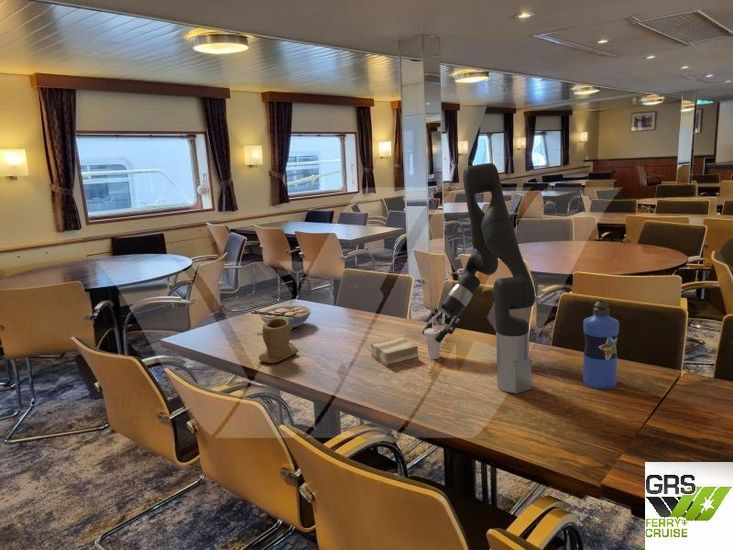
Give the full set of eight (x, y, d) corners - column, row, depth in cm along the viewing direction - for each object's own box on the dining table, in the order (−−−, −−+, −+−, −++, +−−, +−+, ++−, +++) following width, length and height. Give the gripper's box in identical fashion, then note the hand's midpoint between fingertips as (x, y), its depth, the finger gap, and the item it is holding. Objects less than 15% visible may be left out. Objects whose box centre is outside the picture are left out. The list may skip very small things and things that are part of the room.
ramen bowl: (325, 322, 237) (324, 304, 235) (292, 339, 218) (290, 319, 217) (282, 317, 250) (280, 300, 249) (247, 332, 232) (245, 314, 230)
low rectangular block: (418, 359, 186) (417, 346, 185) (387, 367, 181) (386, 353, 180) (401, 349, 197) (400, 336, 196) (371, 357, 192) (370, 343, 191)
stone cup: (276, 368, 188) (271, 327, 185) (254, 362, 196) (249, 322, 193) (307, 354, 200) (303, 315, 196) (285, 349, 207) (281, 311, 204)
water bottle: (575, 380, 161) (576, 300, 156) (600, 374, 164) (602, 295, 159) (599, 392, 152) (600, 307, 147) (624, 385, 156) (627, 302, 150)
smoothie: (443, 353, 191) (441, 315, 188) (444, 360, 184) (442, 321, 181) (425, 353, 191) (423, 316, 188) (425, 360, 185) (423, 321, 182)
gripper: (439, 290, 193) (413, 327, 191) (462, 298, 180) (434, 337, 178) (452, 301, 196) (426, 338, 194) (475, 310, 183) (448, 349, 181)
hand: (430, 337), depth 186 cm, fingers open, 8 cm apart
